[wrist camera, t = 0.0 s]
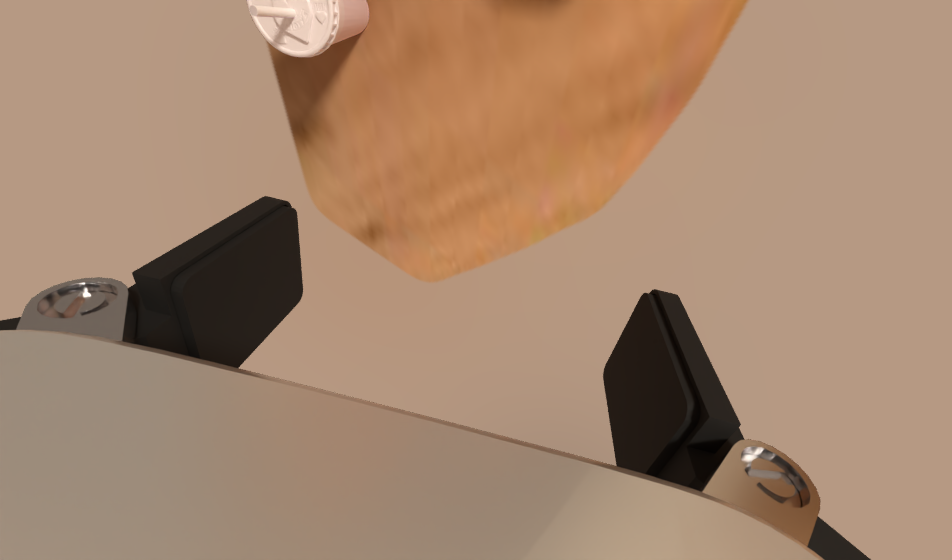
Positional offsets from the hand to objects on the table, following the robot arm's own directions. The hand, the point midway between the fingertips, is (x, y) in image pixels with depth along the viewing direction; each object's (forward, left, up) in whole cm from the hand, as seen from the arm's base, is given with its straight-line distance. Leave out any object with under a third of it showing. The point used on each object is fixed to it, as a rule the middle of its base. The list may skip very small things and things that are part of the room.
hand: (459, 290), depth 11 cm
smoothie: (-4, -17, -31) cm, 36 cm away
